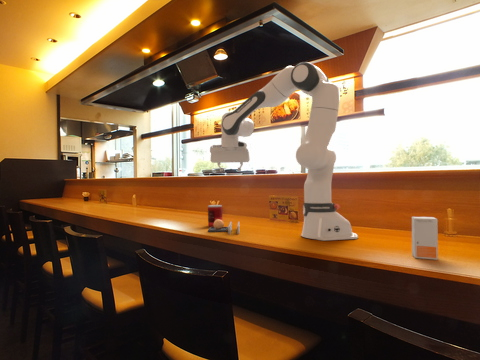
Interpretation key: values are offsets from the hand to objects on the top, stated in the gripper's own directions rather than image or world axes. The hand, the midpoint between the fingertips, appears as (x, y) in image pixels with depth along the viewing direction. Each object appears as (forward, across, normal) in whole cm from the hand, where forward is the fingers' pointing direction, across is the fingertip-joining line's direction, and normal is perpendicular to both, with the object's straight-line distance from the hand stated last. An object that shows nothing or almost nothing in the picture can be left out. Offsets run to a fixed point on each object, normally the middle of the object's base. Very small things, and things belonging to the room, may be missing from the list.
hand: (230, 171), depth 152 cm
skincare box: (+29, +61, -63) cm, 93 cm away
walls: (+29, +2, -12) cm, 32 cm away
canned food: (+29, -9, +6) cm, 31 cm away
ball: (+29, -6, -9) cm, 31 cm away
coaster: (+29, -6, -9) cm, 31 cm away
